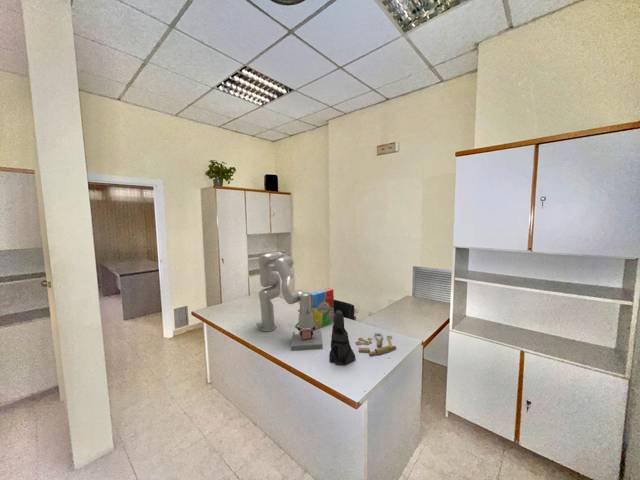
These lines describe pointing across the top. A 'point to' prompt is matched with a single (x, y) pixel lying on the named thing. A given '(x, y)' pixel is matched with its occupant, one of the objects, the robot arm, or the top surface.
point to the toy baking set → (379, 344)
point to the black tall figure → (340, 342)
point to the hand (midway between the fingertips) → (306, 336)
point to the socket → (306, 341)
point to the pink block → (306, 334)
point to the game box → (322, 307)
